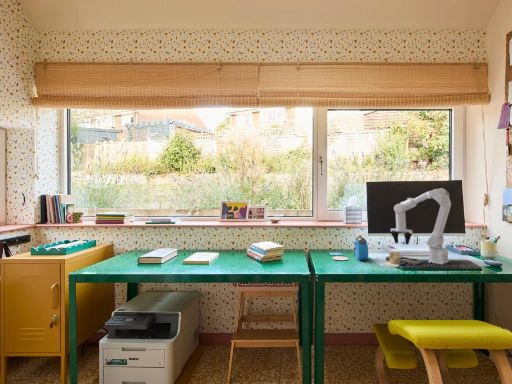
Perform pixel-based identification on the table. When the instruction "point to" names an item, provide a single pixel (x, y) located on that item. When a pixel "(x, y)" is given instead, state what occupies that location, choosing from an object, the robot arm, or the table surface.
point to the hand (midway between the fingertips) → (401, 243)
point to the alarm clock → (361, 248)
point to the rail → (407, 260)
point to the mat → (391, 264)
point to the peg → (394, 257)
